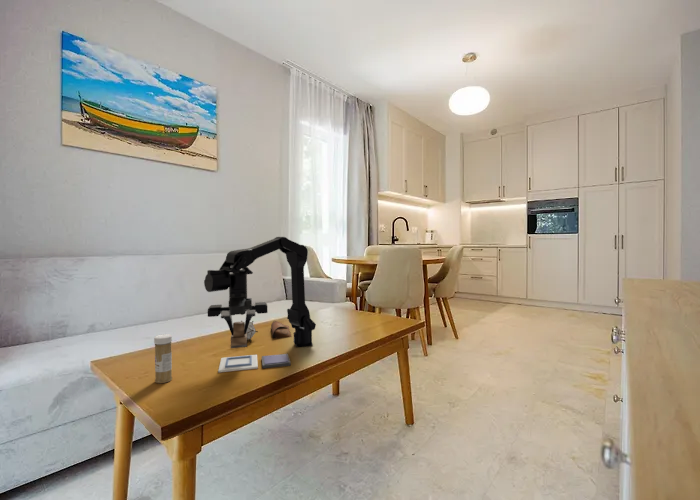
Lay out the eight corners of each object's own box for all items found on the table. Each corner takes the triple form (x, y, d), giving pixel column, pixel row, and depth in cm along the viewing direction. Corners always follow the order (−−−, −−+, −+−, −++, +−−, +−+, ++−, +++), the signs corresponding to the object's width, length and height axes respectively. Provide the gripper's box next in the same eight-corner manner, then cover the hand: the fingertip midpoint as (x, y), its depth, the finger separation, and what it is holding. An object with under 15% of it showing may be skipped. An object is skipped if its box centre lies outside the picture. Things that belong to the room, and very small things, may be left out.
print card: (257, 356, 122) (257, 353, 122) (257, 368, 111) (257, 365, 111) (221, 359, 119) (221, 356, 119) (218, 372, 107) (218, 369, 107)
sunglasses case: (293, 337, 146) (284, 324, 145) (278, 346, 144) (270, 333, 143) (289, 326, 163) (281, 315, 162) (276, 335, 162) (268, 323, 160)
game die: (250, 348, 143) (265, 327, 145) (242, 346, 135) (258, 325, 137) (234, 336, 145) (249, 316, 147) (226, 334, 137) (241, 313, 139)
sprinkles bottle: (152, 381, 101) (151, 336, 101) (168, 376, 105) (167, 332, 104) (158, 385, 98) (157, 339, 98) (175, 380, 102) (174, 335, 101)
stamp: (246, 342, 118) (246, 320, 117) (246, 346, 113) (246, 324, 113) (231, 343, 116) (231, 321, 116) (230, 348, 112) (230, 325, 111)
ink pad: (287, 356, 122) (287, 353, 122) (290, 365, 113) (290, 361, 113) (261, 359, 119) (261, 355, 119) (262, 368, 111) (262, 364, 111)
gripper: (204, 293, 104) (205, 344, 104) (267, 290, 109) (268, 339, 109) (209, 288, 114) (210, 334, 115) (266, 285, 120) (267, 330, 120)
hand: (238, 334), depth 115 cm, fingers closed on stamp, 4 cm apart
